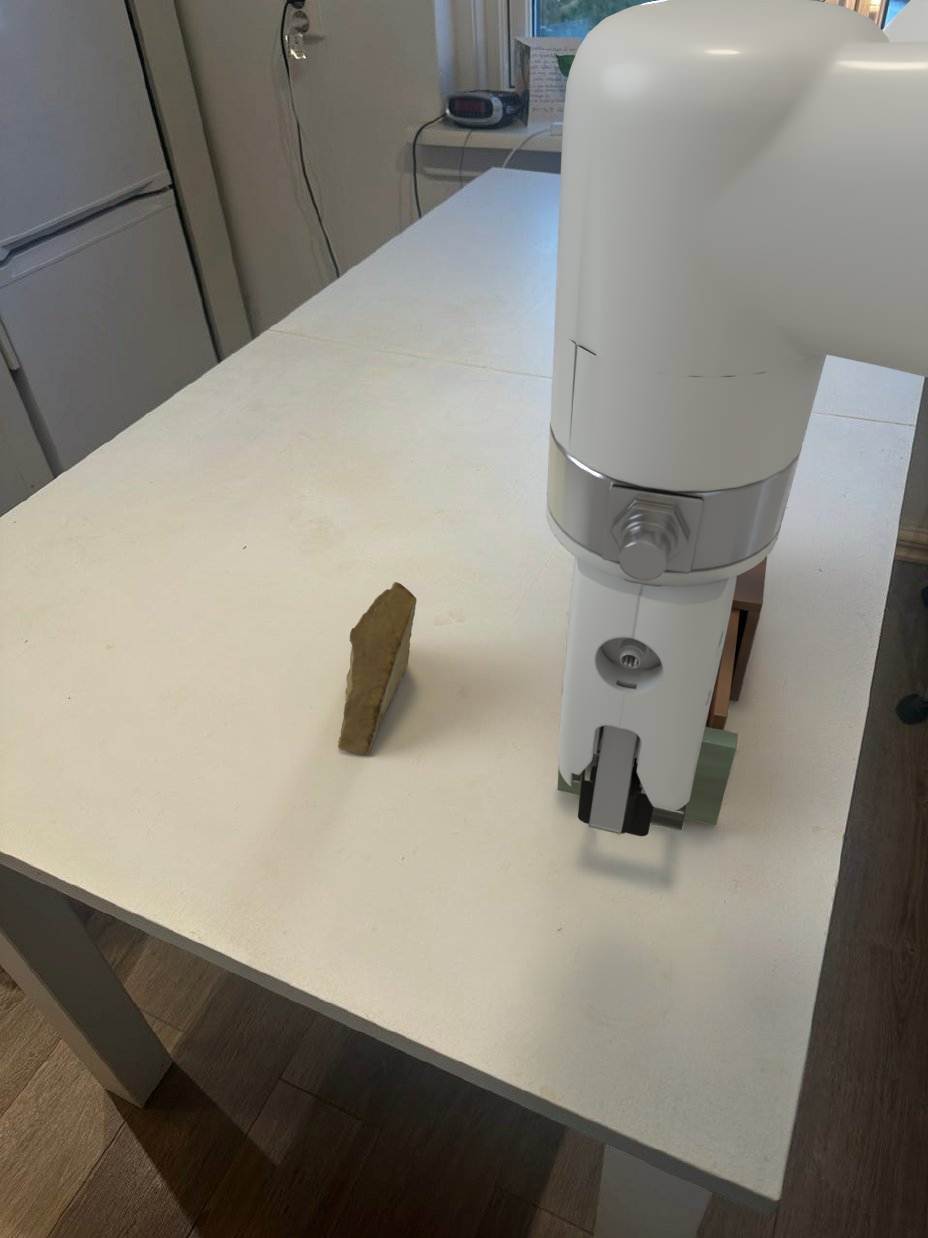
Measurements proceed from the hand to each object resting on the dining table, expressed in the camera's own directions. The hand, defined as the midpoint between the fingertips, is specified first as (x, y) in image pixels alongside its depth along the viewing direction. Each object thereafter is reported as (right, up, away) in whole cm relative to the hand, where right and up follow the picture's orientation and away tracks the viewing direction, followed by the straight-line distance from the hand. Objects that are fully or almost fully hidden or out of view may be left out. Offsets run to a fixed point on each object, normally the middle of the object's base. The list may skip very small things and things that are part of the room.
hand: (615, 815), depth 40 cm
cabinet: (+10, +9, +32) cm, 35 cm away
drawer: (+6, 0, +21) cm, 22 cm away
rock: (-14, +3, +27) cm, 30 cm away
